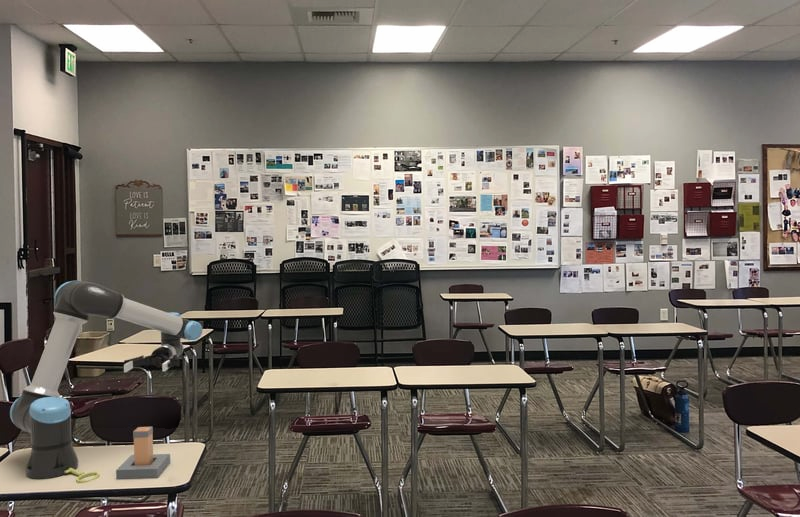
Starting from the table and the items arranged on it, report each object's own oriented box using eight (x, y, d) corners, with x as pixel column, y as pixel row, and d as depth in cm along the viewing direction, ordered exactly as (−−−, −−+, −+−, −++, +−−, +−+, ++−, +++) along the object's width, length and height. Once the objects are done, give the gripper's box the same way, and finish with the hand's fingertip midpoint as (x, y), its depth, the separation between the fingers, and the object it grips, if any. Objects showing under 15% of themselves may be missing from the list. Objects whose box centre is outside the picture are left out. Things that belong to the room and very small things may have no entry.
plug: (134, 473, 201) (133, 431, 200) (139, 467, 206) (138, 427, 205) (149, 473, 201) (147, 431, 200) (153, 467, 206) (152, 426, 205)
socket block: (116, 479, 196) (116, 470, 196) (131, 463, 209) (131, 455, 209) (157, 477, 197) (157, 468, 197) (170, 462, 210) (170, 453, 210)
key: (69, 473, 203) (69, 467, 202) (102, 476, 200) (102, 469, 200) (53, 482, 196) (53, 475, 195) (87, 485, 193) (87, 478, 193)
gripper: (195, 364, 243) (179, 377, 222) (131, 365, 242) (109, 379, 221) (195, 345, 243) (179, 357, 222) (130, 347, 241) (108, 358, 220)
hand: (144, 368), depth 221 cm, fingers open, 13 cm apart
